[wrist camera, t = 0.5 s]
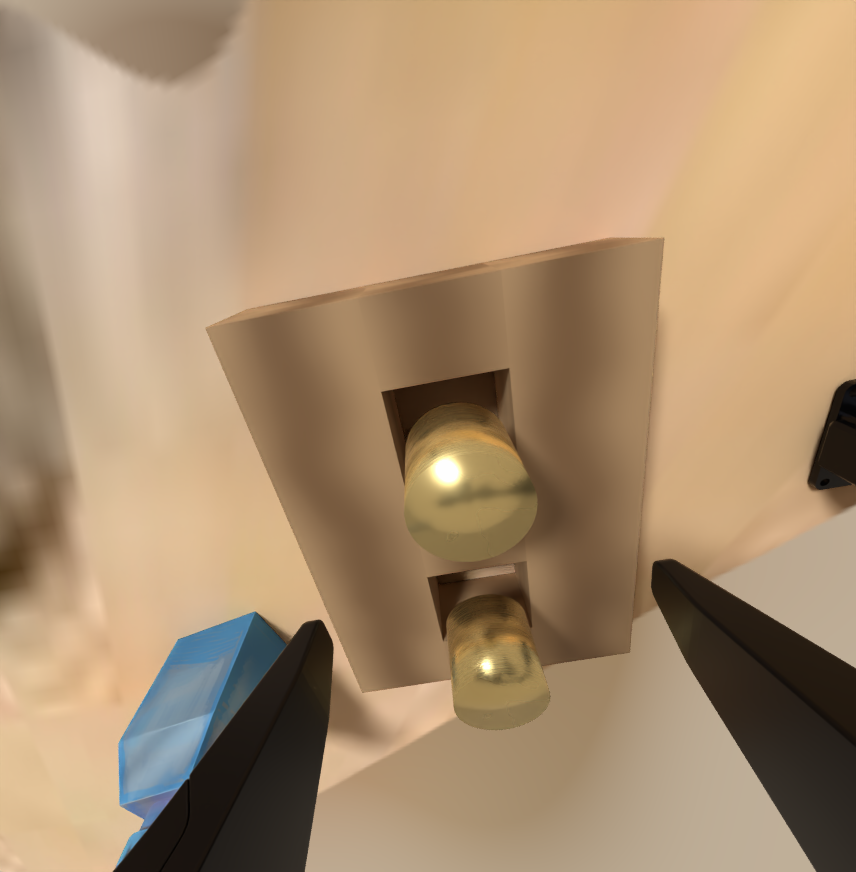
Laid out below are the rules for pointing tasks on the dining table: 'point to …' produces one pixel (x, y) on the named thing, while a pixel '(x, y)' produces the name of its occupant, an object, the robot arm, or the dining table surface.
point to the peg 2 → (494, 664)
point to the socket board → (518, 411)
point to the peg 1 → (465, 485)
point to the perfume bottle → (190, 711)
